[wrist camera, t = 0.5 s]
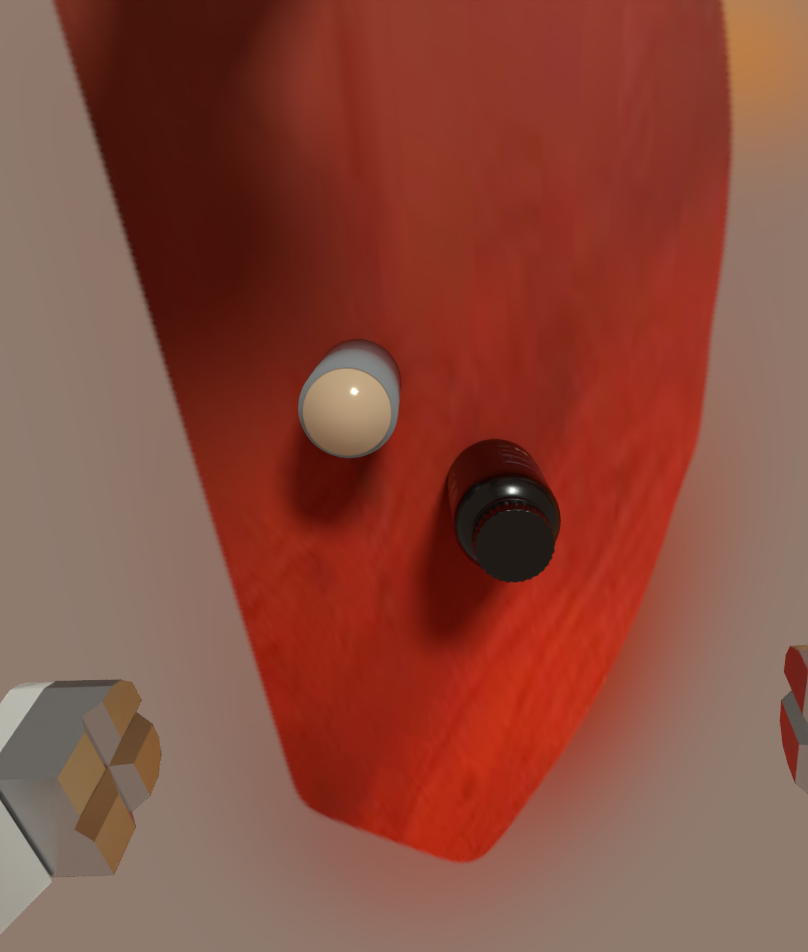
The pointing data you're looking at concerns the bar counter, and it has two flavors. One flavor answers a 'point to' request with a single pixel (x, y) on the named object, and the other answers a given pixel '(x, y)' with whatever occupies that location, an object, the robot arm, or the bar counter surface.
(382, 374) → the sugar jar
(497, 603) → the bar counter surface
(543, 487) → the supplement bottle
